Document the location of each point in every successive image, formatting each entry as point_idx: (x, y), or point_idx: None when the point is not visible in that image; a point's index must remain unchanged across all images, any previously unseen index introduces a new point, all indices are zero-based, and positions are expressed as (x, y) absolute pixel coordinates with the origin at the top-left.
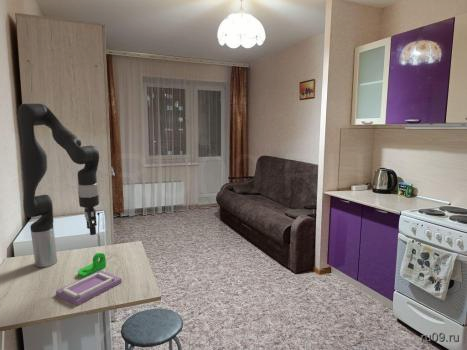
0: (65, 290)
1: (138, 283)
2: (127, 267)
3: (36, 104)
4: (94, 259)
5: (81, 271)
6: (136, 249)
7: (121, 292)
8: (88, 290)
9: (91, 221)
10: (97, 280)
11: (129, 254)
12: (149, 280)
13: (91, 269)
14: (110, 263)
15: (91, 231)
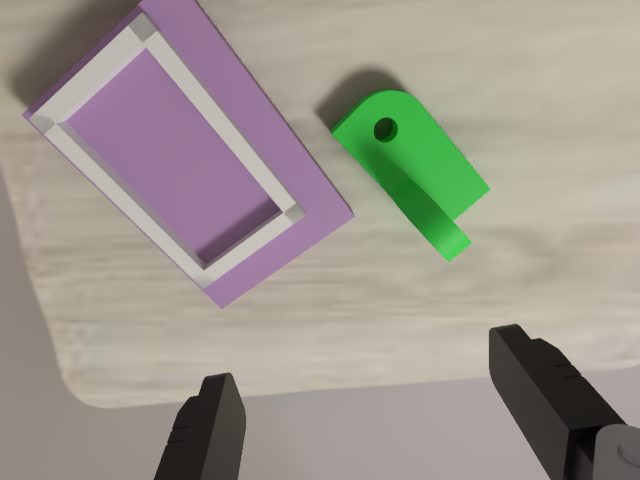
0: (114, 41)
1: (194, 356)
2: (371, 320)
3: None
4: (413, 204)
5: (387, 112)
6: None
7: (130, 296)
8: (91, 174)
9: (544, 460)
10: (235, 205)
11: None
12: None
13: (389, 168)
14: None
15: (169, 436)
